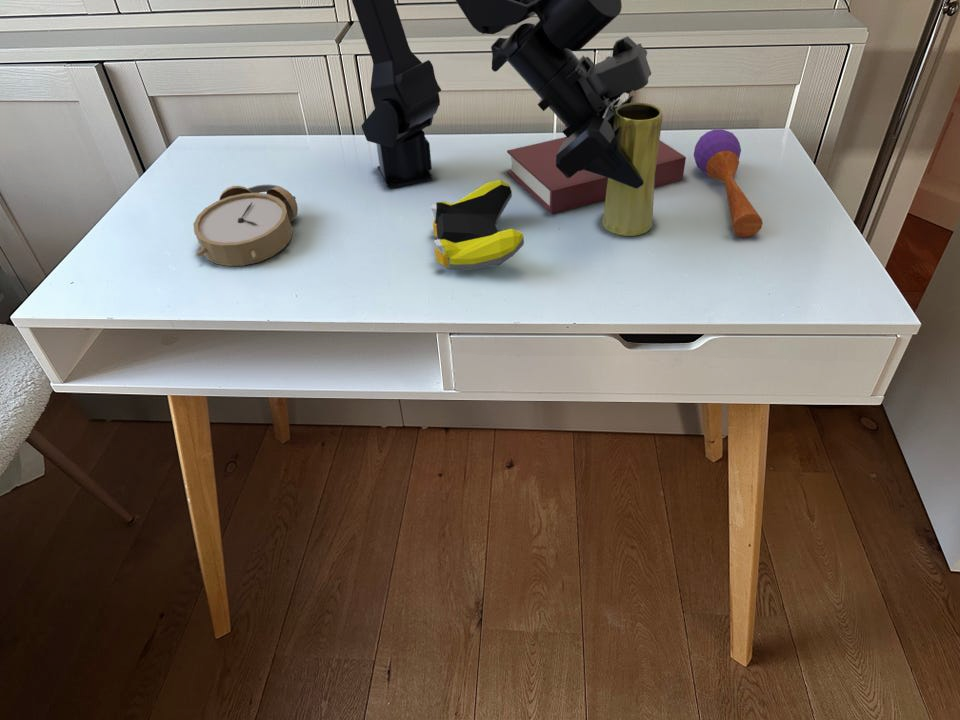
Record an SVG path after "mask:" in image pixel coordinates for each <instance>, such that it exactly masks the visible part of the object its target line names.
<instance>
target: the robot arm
mask: <svg viewBox="0 0 960 720" xmlns="http://www.w3.org/2000/svg"><path fill="white" fill-rule="evenodd" d="M455 2H456V4H457V5H458V7H459V9H460V10H461V12H462V13H463V15H464V17H465V18H466V19H467V21H468V22H469V24H470V25H471V26H472V28H473V29H475V31H476V32H478V33H480V34H481V35H485V34H486V35H495V34H497V33H500V32H502V31H504V30H507V29H508V28H510V27H512V26H515V25H518V24H520V23H522V22H524V21H526V20H529V18H532V17H534V16H537V18H538V19H539V20H538V21H536V23H535V24H534V23H531V22H525V23H522V24H520V25H519V26H518V27H517V28H516V29H515V30H514V31H513V33H511V34H510V35H509V37H498V38H497V39H496V40H495V41H494V42H493V43H492V44H491V46H490V49H491V54H492V56H491V57H492V58H491V70H492V72H494V73H495V72H498V71H499V70H500V69H501V68H502V67H503V66H504V65H505V64H506V63H507V62H508V63H509V64H510V66H511V67H512V68H513V69H514V70H515V72H516V73H517V74H518V75H519V76H520V77H521V78H522V79H523V80H524V81H525V82H526V83H527V84H528V86H529V87H530V88H531V89H532V90H533V91H534V92H535V94H537V96H538V97H539V98H540V100H539V102H538V103H537V106H538V107H539V109H541V110H542V112H545V111H546V110H547V109H548V108H549V109H550V110H551V111H552V113H554V115H555V116H556V117H557V118H558V119H559V120H560V122H562V124H563V125H564V127H563V129H562V131H561V133H563V135H564V136H565V137H567V139H566V140H565V141H564V142H563V143H562V145H561V147H560V149H559V151H558V153H557V155H556V167H557V168H558V169H559V170H560V171H561V172H562V173H563V174H564V175H565V177H566V178H570V177H572V176H573V175H574V174H575V173H577V172H578V171H582V170H586V171H589V172H592V173H595V174H599V175H602V176H605V177H607V178H610V179H613V180H615V181H618V182H620V183H623V184H626V185H628V186H631V187H633V188H636V189H637V188H639V187H640V186H642V185H643V183H644V181H643V179H642V178H641V176H640V174H639V173H638V171H637V169H636V168H635V166H634V165H633V163H632V162H631V160H630V159H629V157H628V156H627V154H626V153H625V151H624V150H623V148H622V147H621V144H620V142H621V127H619V128H618V129H617V130H616V131H613V129H614V115H615V109H616V108H617V107H619V106H621V105H624V104H628V103H634V101H635V100H634V99H635V98H634V97H635V96H634V95H633V94H632V95H630V96H629V97H627V99H626V100H624V101H623V100H622V99H621V98H620V97H621V96H623V94H626V95H629V94H630V93H631V92H636V91H639V90H641V89H643V88H644V87H646V86H647V85H648V84H649V78H650V76H651V75H652V72H651V67H650V64H649V62H648V59H647V56H648V50H647V49H645V48H644V47H643V45H642V43H640V42H639V43H636V42H635V41H633V39H631V38H630V36H628V35H627V36H625V37H622V38H620V39H618V40H615V43H614V44H613V48H612V56H610V55H608V56H606V57H605V59H603V60H602V61H600V62H597V63H595V62H594V61H592V59H591V58H590V57H589V56H585V55H582V56H581V57H580V58H578V57H577V56H576V54H575V53H573V52H576V51H580V50H581V49H583V48H584V47H585V46H586V45H587V44H588V43H589V42H591V41H592V40H593V39H594V38H595V37H596V36H597V35H598V34H599V33H600V32H602V30H604V29H605V28H606V27H607V26H608V25H610V24H611V22H612V21H614V20H615V19H616V18H617V17H618V16H619V15H620V14H621V12H622V8H623V7H622V3H623V2H622V0H455ZM351 3H352V5H353V8H354V11H355V14H356V17H357V20H358V23H359V26H360V28H361V32H362V34H363V37H364V41H365V43H366V46H367V48H368V52H369V55H370V57H371V61H372V72H371V80H370V95H371V98H372V102H373V106H374V109H373V110H372V111H371V113H370V114H369V115H368V117H367V118H366V119H365V120H364V121H363V123H362V124H361V129H362V132H363V134H364V137H365V139H366V141H367V142H369V143H373V144H376V151H377V157H378V164H379V165H377V172H378V174H379V176H380V177H381V179H382V181H383V183H384V184H385V187H386V188H387V189H392V188H397V187H402V186H408V185H411V184H418V183H422V182H427V181H431V180H433V175H432V174H431V170H432V169H433V167H432V158H431V157H432V155H431V146H430V142H429V140H428V139H427V137H426V134H425V131H424V130H425V129H426V128H428V127H431V126H432V125H433V121H434V116H435V114H437V112H438V109H439V107H440V105H441V99H440V98H441V97H440V94H439V93H440V92H442V88H441V87H440V85H439V83H438V81H437V79H436V75H435V70H434V69H435V68H434V66H433V63H432V61H431V60H429V59H428V60H425V61H423V62H422V61H421V60H420V58H419V57H418V56H416V55H415V54H414V53H413V51H411V48H410V45H409V42H408V39H407V36H406V33H405V29H404V26H403V23H402V21H401V17H400V14H399V11H398V7H397V5H396V1H395V0H351Z"/></svg>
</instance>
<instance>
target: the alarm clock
mask: <svg viewBox="0 0 960 720" xmlns="http://www.w3.org/2000/svg"><path fill="white" fill-rule="evenodd" d="M296 198H297V197H296V196H295V195H293V194H292V193H291V192H290V191H289V190H287V189H285V188H284V187H282V186H280V185H276V184H259V185H258V184H257V185H254V186H251V187H248V188H247V187H245V186H243V185H232V186H229V187H227V188H225V189H224V190H223V191H222V192H221V194H220V196H219V199H218V200H217V201H215V202H213V203H211V204H210V205H208V206H207V207H205V208H204V209H202V211H201V212H199V214H198V215H197V217H196V218H195V220H194V222H193V233H194V235H195V236H196V239H197V241H198V244H199V247H200V249H199V250H198V251H197V252H196V253H195V255H196V256H197V257H200V256H202V255H203V256H205V258H206V259H207V260H208V261H210V262H212V263H214V264H216V265H220V266H226V267H238V266H239V267H240V266H248V265H252V264H257V263H260V262H263V261H265V260H267V259H269V258H272V257H274V256H275V255H277V254H278V253H280V252H281V251H283V250H284V249H285V248H286V246H287V245H288V244H289V242H290V241H291V240H292V236H293V233H294V231H293V227H292V223H291V222H293V221H294V220H295V218H297V215H298V211H299V210H298V209H299V208H298V203H297V200H296Z"/></svg>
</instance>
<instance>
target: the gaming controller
mask: <svg viewBox="0 0 960 720" xmlns="http://www.w3.org/2000/svg"><path fill="white" fill-rule="evenodd" d="M512 191H513V190H512V188H511V185H510V184H509V183H508V182H506V181H504V180H501V179H497V180H496V179H495V180H491V181H488V182H486V183H484V184H483V185H481V186H480V187H478V188H476V189H475V190H473V191H472V192H470V193H469V194H467V195H466V196H464V197H462V198H461V199H459V200H457V201H456V202H447V201H437V202H436V203H433V204H431V205H430V209H431V213H432V214H433V217H434V220H433V223H432V229H433V236H434V237H435V238H437V239H434V240H433V242H434V244H435V248H434V252H435V260H436V262H437V263H438V264H439V265H442V266H444V267H445V268H446V269H447V270H453V271H454V270H456V271H467V270H477V269H478V270H479V269H483V268H489V267H495V266H500V265H502V264H503V263H504V262H506V261H509V259H511V258H512V257H514V255H515V254H516V253H517V252H518V251H520V249H521V248H522V247H523V246H524V244H525V238H524V235H523V232H522V231H519V230H517V229H514V228H509V229H505V230H504V229H503V230H501V231H498V229H497V224H498V222H499V219H500V217H501V216H502V214H503V212H504V211H505V209H506V207H507V205H508V204H509V202H510V200H511V199H512V196H513V193H512Z"/></svg>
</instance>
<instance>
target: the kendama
mask: <svg viewBox="0 0 960 720" xmlns="http://www.w3.org/2000/svg"><path fill="white" fill-rule="evenodd" d="M741 152H742V148H741V143H740V141H739V139H738V138H737V136H736V135H735V133H733V132H730V131H728V130H726V129H721V128H719V129H717V128H716V129H711V130H709V131H706V132H705V133H704V134H703V135H702V136H700V137H699V139H698V141H697V142H696V144H695V147H694V151H693V158H694V161H695V162H694V163H695V164H696V167H697V168H698V169H699V170H700V171H701V172H702V173H704V174H706V175H708V176H709V177H710V178H711V179H714V180H717V181H720V182H722V183H724V187H725V193H726V198H727V203H728V210H729V214H730V221H731V225H732V230H733V233H734V235H736V236H737V237H739V238H745V239H746V238H750V237H753V236H756V234H758V233H759V232H760V231H761V229H762V227H763V224H764V223H763V219H762V217H761V216H760V215H759V212H757V210H756V209H755V207H754V206H753V204H752V203H751V201H750V200H749V198H748V197H747V196H746V195H745V193H744V191H743V190H742V189H741V187H740V186H739V185H738V183H737V182H736V180H735V176H736V173H737V170H738V168H739V164H740V156H741Z"/></svg>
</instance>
